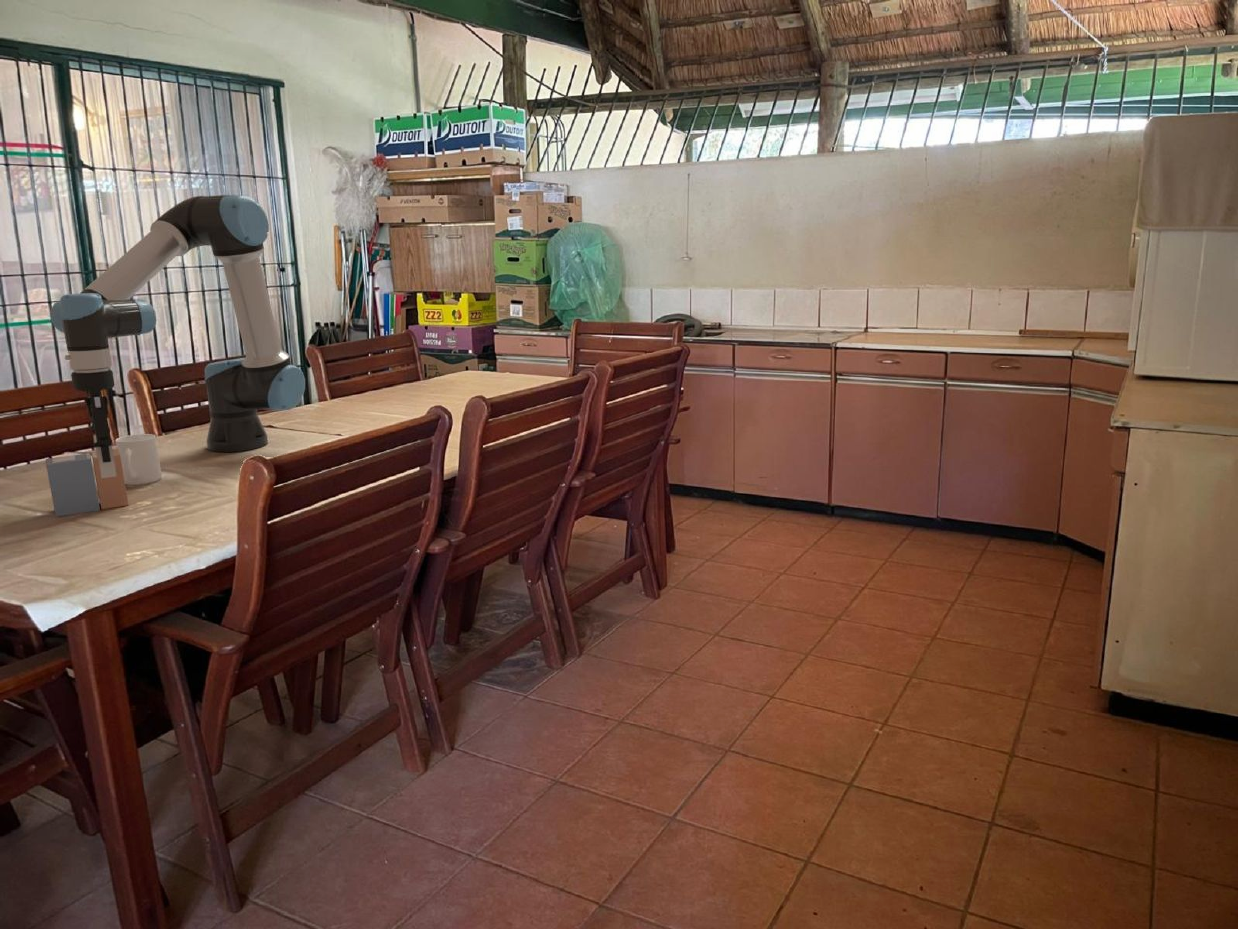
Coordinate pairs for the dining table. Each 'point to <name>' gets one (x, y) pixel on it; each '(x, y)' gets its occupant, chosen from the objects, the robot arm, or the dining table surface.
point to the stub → (110, 484)
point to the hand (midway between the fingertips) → (106, 470)
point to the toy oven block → (72, 484)
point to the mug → (139, 459)
